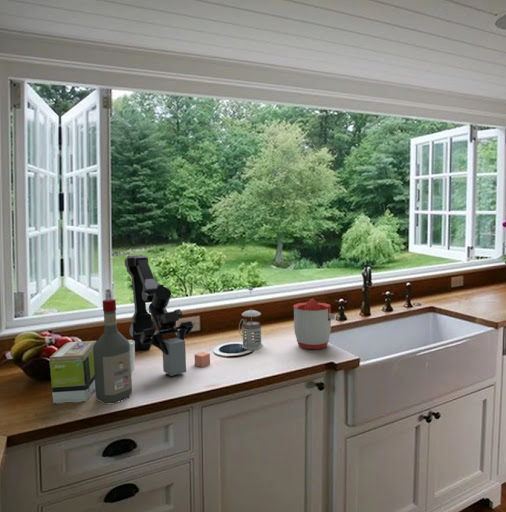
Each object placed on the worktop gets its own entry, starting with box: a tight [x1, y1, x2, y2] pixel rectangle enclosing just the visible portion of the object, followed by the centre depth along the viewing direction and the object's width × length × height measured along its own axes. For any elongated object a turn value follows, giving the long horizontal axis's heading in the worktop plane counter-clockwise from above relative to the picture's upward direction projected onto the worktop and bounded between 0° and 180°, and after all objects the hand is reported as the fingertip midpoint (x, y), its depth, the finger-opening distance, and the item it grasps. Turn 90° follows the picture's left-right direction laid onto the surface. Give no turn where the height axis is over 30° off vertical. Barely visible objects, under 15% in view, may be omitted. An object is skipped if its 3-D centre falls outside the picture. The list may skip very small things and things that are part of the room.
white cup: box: [127, 339, 136, 372], centre depth 151 cm, size 8×8×10 cm
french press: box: [238, 286, 265, 350], centre depth 174 cm, size 10×12×25 cm
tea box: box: [49, 340, 97, 404], centre depth 131 cm, size 15×10×15 cm, turn 5°
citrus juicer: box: [292, 298, 337, 350], centre depth 173 cm, size 16×17×20 cm
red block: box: [194, 351, 211, 368], centre depth 155 cm, size 4×4×4 cm
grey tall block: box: [162, 337, 187, 377], centre depth 145 cm, size 6×6×11 cm
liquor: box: [93, 298, 133, 404], centre depth 126 cm, size 9×9×30 cm
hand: (175, 352), depth 143 cm, fingers closed on grey tall block, 6 cm apart
